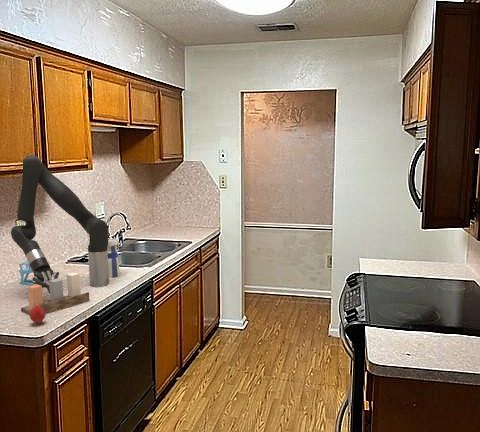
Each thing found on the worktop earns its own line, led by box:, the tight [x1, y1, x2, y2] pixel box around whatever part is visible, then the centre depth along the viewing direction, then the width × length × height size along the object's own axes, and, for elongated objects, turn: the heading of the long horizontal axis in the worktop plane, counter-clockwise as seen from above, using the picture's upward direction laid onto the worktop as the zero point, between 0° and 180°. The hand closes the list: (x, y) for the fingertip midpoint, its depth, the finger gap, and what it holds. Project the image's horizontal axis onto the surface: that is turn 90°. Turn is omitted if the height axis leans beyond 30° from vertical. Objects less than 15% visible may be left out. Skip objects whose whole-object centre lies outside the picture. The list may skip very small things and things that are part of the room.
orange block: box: [27, 284, 44, 310], centre depth 206 cm, size 4×4×10 cm
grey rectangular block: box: [49, 277, 64, 303], centre depth 214 cm, size 4×4×10 cm
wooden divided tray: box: [20, 291, 91, 316], centre depth 215 cm, size 26×11×4 cm, turn 139°
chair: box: [18, 260, 35, 286], centre depth 249 cm, size 8×8×12 cm
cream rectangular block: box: [66, 272, 81, 297], centre depth 223 cm, size 4×4×10 cm
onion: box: [29, 304, 46, 325], centre depth 195 cm, size 6×6×8 cm
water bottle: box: [107, 238, 121, 279], centre depth 259 cm, size 8×9×25 cm
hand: (53, 293), depth 216 cm, fingers closed
